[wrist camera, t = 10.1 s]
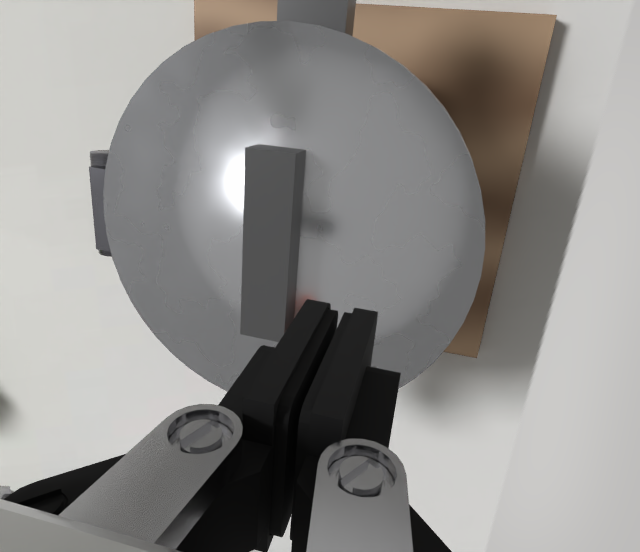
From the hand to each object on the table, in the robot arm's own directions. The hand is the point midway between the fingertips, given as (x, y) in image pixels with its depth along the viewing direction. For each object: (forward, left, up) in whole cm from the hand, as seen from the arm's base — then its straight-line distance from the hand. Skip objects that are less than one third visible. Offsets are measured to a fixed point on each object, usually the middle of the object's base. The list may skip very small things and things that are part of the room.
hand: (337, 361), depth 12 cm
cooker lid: (+1, -5, -12) cm, 13 cm away
